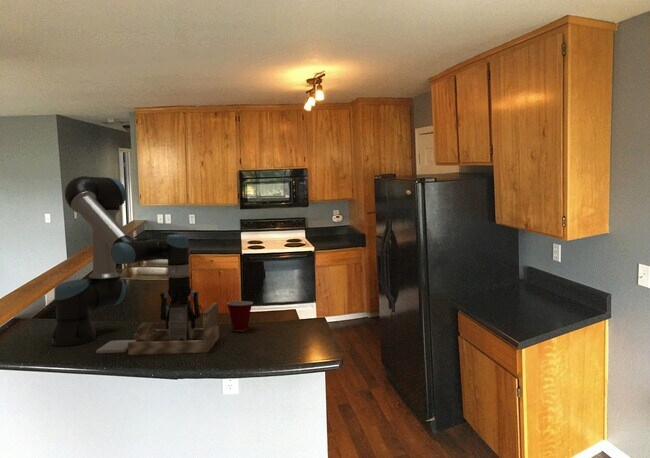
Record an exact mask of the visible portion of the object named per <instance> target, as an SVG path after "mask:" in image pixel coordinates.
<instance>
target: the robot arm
mask: <svg viewBox="0 0 650 458" xmlns="http://www.w3.org/2000/svg"><path fill="white" fill-rule="evenodd" d="M64 199H65V200H66V201H65V202H66V203H67V205H68V206H69V208H71V210H72V211H73V212H75V213H77V214H78V213H79V214H80V215H81V217H82V218H84V220H85V221H86V222H87V223H88V224H89V225H90V227H91V228H92V272H91V273H90V274H89V276H88V279H87V278H86V279H84V278H82V279H79V278H78V279H73V280H69V281H64V282H61V283H60V284H58V285H57V286H56V287H55V289H54V302H55V304H54V305H55V319H56V321H55V323H56V324H55V327H54V331H53V334H52V336H51V345H52V346H56V347H69V346H77V345H83V344H86V343H90V342H93V341H94V340H96V339H97V332H96V330H95V327H94V325H93V322H92V320H91V311H95V310H101V309H104V308H111V307H114V306H116V305H119V304H120V303H122V302H123V300H124V299H125V297H126V293H127V292H126V291H127V285H126V283H125V280H124V279H123V278H121V275H120V273H119V272H118V271H117V267H116V266H117V264H118V265H129V264H135V263H140V262H149V261H156V260H157V261H159V260H160V261H161V260H166V261H167V274H168V276H169V277H168V278H167V279H168V280H167V281H168V282H167V283H168V290H167V291H165V292H164V291H163V292H161V293H160V294H159V297H160V300H161V301H160V303H161V305H160V320H162V321H165V329H167V330H169V339H170V329H169V310H168V313H167V316H166V307H167V306H168V305H167V303H168V296H169V297H170V304H174V303H175V302H177V301H181V302H182V301H183V303H184V304H188V314H189V317H190V320H189V338H192V337H193V329H194V328H196V320H198V319H199V318H200V317H201V312H200V311H201V310H200V305H199V290H195V291H194V290H192V289H191V282H190V281H191V278H190V276H189V275H190V274H191V273H190V255H189V254H190V252H189V251H190V249H189V248H190V243H189V237H188V235H187V234H185V233H184V234H182V233H181V234H175V233H174V234H168V235H167V236H166V239H157V238H154V239H153V238H152V239H147V240H138V241H136V240H135V239H133V237H131V236H130V234H129V233H127V231H126V230H125V229H124V228H123V227H122V226H121V225H120V224H119V223H118V222H117V214H118V213H119V212H120V211H121V206H123V205H124V204H125V202H126V200H127V191H126V187H125V186H124V184H123V183H122V182H121V181H120V180H119V179H118V178H114V177H113V178H112V177H107V176H106V177H103V176H102V177H100V176H87V175H86V176H84V175H83V176H78V177H75V178H73V179H71V180H70V181H69V182H68V183H67V185H66V187H65V189H64ZM190 295H191V297H192V304H193V308H192V304H191V305H190V302H189V301H190V299H189V297H190ZM170 304H169V305H170Z"/></svg>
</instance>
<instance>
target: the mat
mask: <svg viewBox="0 0 650 458" xmlns="http://www.w3.org/2000/svg"><path fill="white" fill-rule="evenodd" d="M129 342H136V340H134V339H123V340H122V339H120V340H119V339H118V340H117V339H116V340H110V341H108V342H107V343H105V344H103V345H102V346H100V347H99V348H98V349H96V351H95V353H96V354H108V353H109V354H111V353H112V354H117V353H118V354H119V353H126V352H128V343H129Z"/></svg>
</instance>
